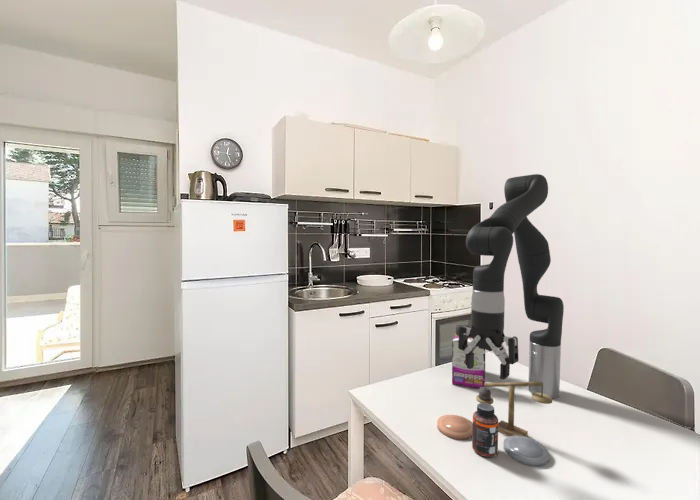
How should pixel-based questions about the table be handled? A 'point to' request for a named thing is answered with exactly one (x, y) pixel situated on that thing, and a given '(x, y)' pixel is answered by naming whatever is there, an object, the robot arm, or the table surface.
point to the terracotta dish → (455, 426)
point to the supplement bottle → (485, 430)
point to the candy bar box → (460, 370)
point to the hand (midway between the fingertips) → (486, 373)
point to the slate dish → (526, 450)
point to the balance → (511, 404)
